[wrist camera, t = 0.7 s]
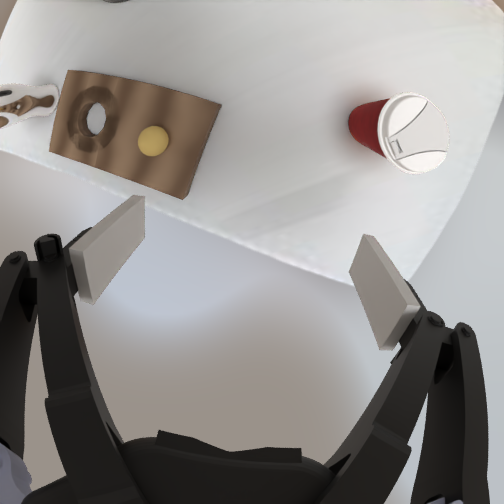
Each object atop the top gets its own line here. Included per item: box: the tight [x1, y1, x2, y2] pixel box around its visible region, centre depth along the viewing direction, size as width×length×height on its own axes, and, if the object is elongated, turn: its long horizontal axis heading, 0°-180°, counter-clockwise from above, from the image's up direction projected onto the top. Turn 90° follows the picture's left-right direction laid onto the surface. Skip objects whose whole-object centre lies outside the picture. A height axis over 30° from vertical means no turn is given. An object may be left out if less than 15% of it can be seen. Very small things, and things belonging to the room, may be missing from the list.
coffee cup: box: [348, 92, 449, 174], centre depth 26 cm, size 8×8×15 cm
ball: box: [138, 126, 168, 156], centre depth 31 cm, size 4×4×4 cm
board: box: [49, 70, 221, 200], centre depth 33 cm, size 26×14×2 cm, turn 67°
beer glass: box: [0, 83, 59, 129], centre depth 24 cm, size 7×7×15 cm
